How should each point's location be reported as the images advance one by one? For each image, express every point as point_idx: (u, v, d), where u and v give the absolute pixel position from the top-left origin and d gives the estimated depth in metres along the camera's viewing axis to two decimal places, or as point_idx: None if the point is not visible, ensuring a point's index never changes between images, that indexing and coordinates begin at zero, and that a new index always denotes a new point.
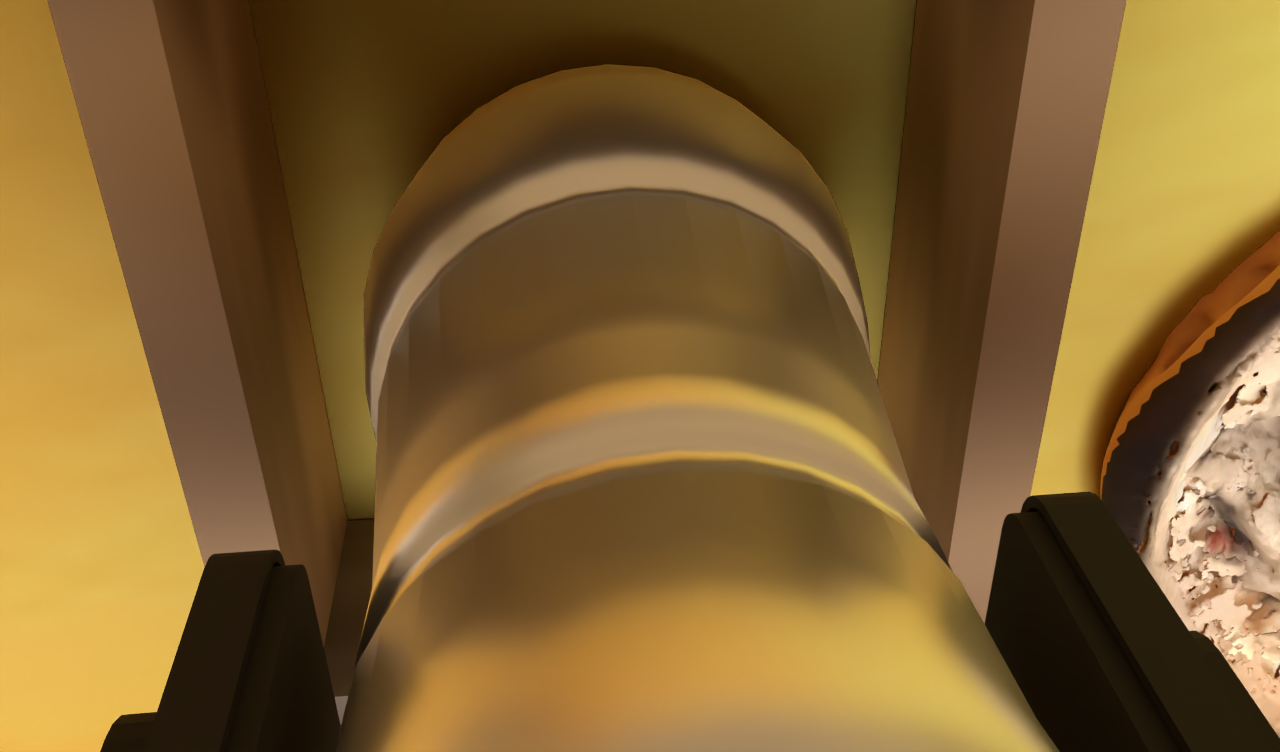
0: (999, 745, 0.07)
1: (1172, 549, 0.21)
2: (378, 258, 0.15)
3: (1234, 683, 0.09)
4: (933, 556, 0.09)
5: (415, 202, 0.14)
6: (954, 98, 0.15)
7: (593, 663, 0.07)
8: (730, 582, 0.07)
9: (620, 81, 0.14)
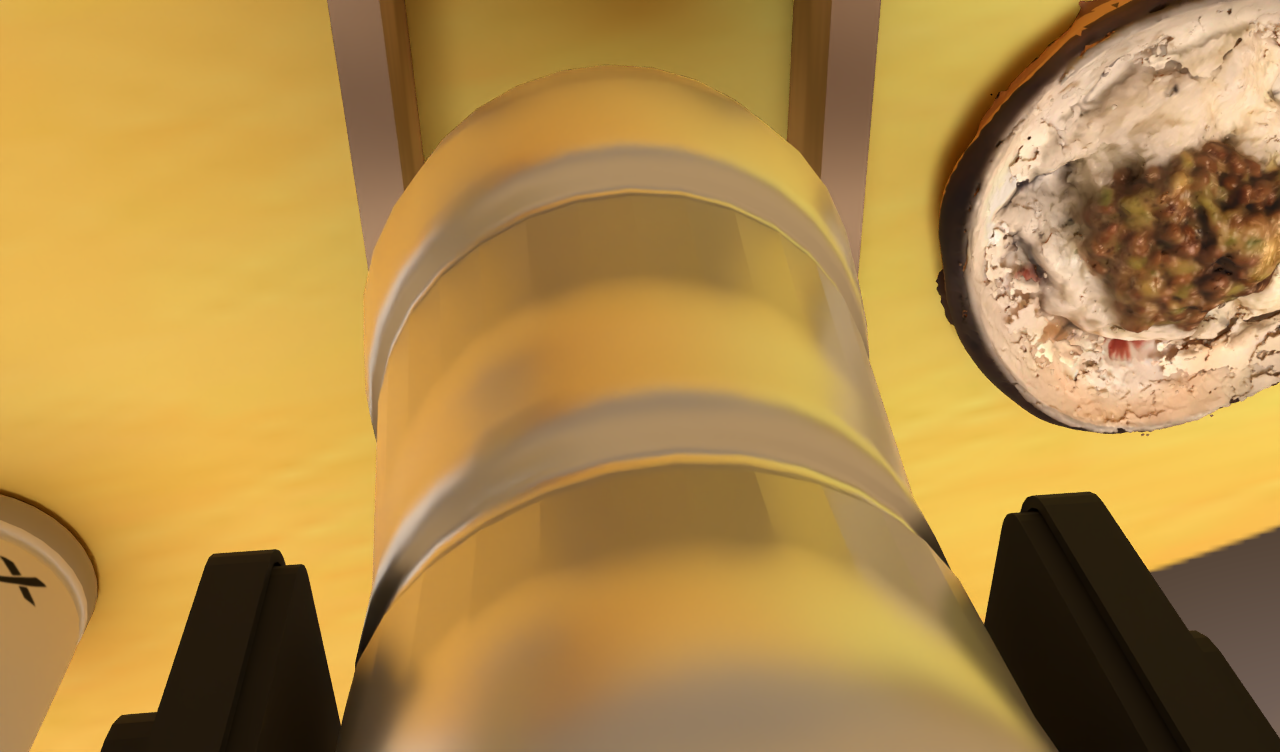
0: (997, 743, 0.07)
1: (988, 272, 0.31)
2: (378, 258, 0.15)
3: (1234, 683, 0.09)
4: (932, 555, 0.09)
5: (415, 202, 0.14)
6: None
7: (591, 661, 0.07)
8: (730, 580, 0.07)
9: (619, 81, 0.14)
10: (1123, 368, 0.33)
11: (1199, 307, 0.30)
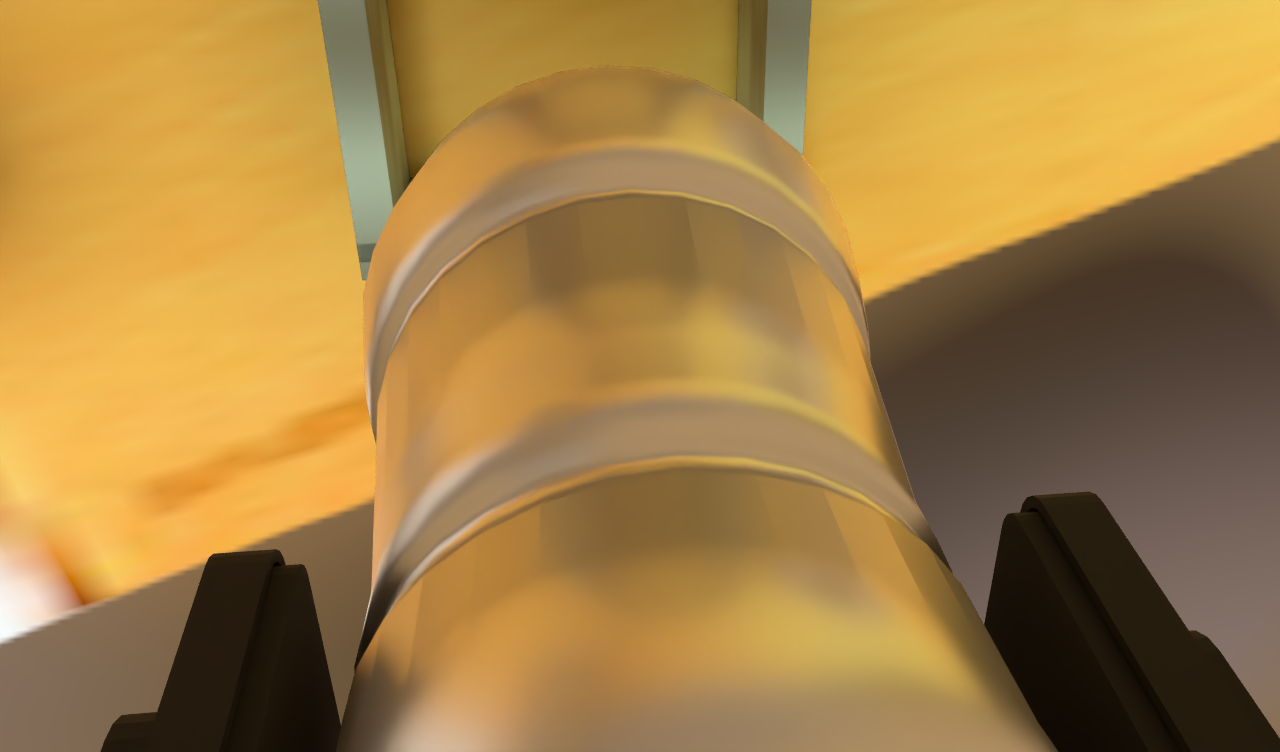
0: (1000, 749, 0.07)
1: None
2: (377, 259, 0.15)
3: (1234, 683, 0.09)
4: (934, 559, 0.09)
5: (414, 203, 0.14)
6: None
7: (593, 666, 0.07)
8: (732, 584, 0.07)
9: (620, 82, 0.14)
10: None
11: None
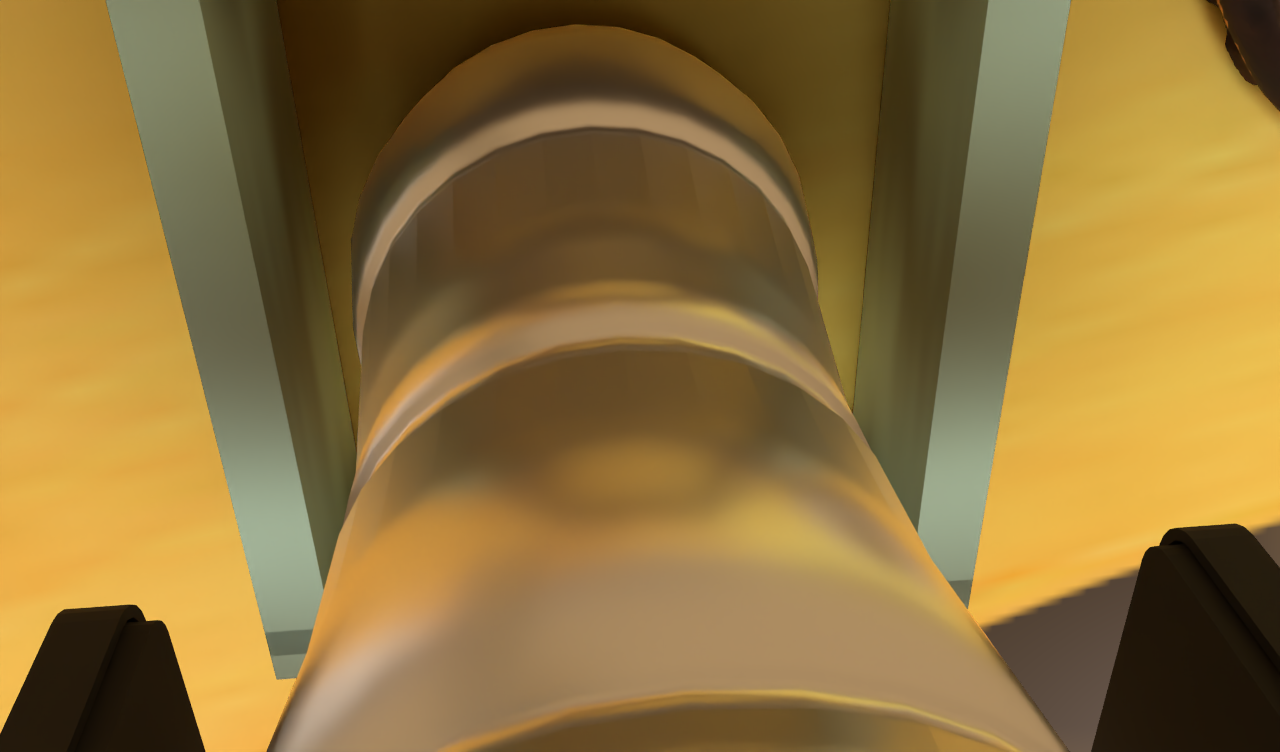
0: (879, 553, 0.08)
1: None
2: (363, 204, 0.16)
3: None
4: (847, 429, 0.10)
5: (396, 150, 0.15)
6: None
7: (534, 490, 0.08)
8: (656, 431, 0.09)
9: (584, 36, 0.15)
10: None
11: None
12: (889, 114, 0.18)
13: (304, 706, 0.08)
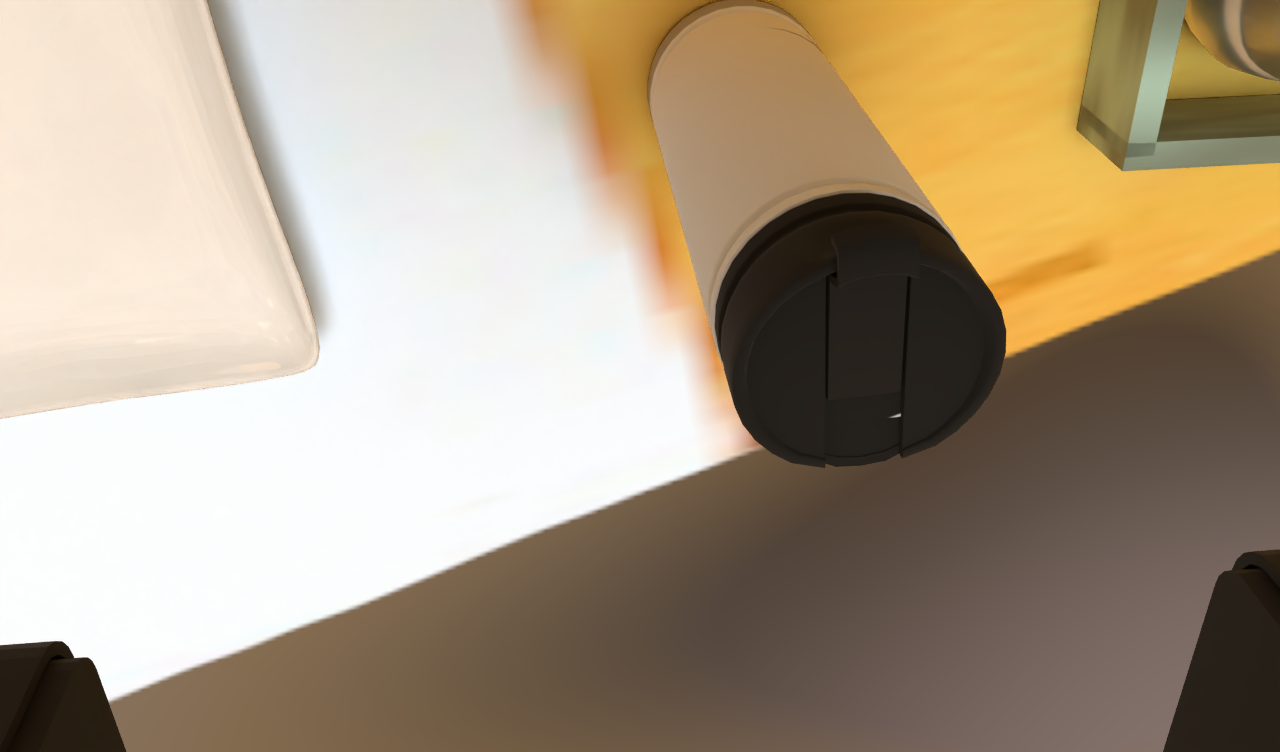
0: None
1: None
2: None
3: None
4: None
5: None
6: None
7: None
8: None
9: None
10: None
11: None
12: None
13: None
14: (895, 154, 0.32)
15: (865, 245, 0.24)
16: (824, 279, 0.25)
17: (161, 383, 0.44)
